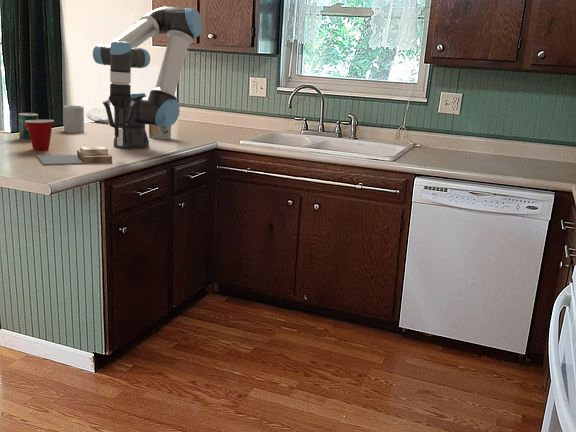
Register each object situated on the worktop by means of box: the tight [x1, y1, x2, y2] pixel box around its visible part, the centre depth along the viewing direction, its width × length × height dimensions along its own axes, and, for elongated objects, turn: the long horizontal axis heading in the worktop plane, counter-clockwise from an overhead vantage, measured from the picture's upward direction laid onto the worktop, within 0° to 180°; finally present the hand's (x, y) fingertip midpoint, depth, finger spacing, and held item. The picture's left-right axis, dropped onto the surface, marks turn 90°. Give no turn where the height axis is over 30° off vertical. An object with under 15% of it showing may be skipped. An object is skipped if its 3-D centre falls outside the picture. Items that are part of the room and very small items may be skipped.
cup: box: [63, 105, 85, 134], centre depth 291 cm, size 9×9×12 cm
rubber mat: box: [36, 154, 85, 166], centre depth 225 cm, size 14×16×1 cm
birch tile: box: [79, 145, 109, 155], centre depth 230 cm, size 9×6×2 cm, turn 120°
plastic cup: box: [25, 119, 55, 152], centre depth 241 cm, size 11×11×12 cm
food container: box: [85, 106, 114, 124], centre depth 328 cm, size 12×30×6 cm, turn 58°
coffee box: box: [148, 125, 172, 140], centre depth 291 cm, size 9×6×16 cm
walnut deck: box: [76, 149, 113, 165], centre depth 231 cm, size 10×14×2 cm
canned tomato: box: [17, 112, 39, 142], centre depth 261 cm, size 8×8×11 cm
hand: (119, 145), depth 234 cm, fingers closed
